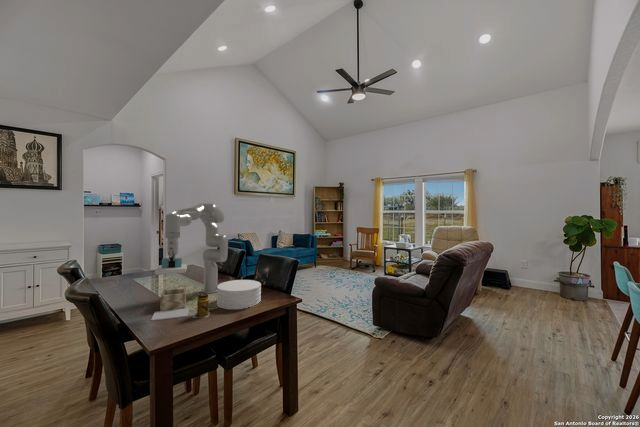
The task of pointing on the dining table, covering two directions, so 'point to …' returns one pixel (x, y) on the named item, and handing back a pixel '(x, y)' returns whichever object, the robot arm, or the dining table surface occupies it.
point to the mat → (170, 314)
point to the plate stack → (238, 294)
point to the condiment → (202, 306)
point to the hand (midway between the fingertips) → (172, 266)
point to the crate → (173, 299)
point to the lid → (177, 269)
